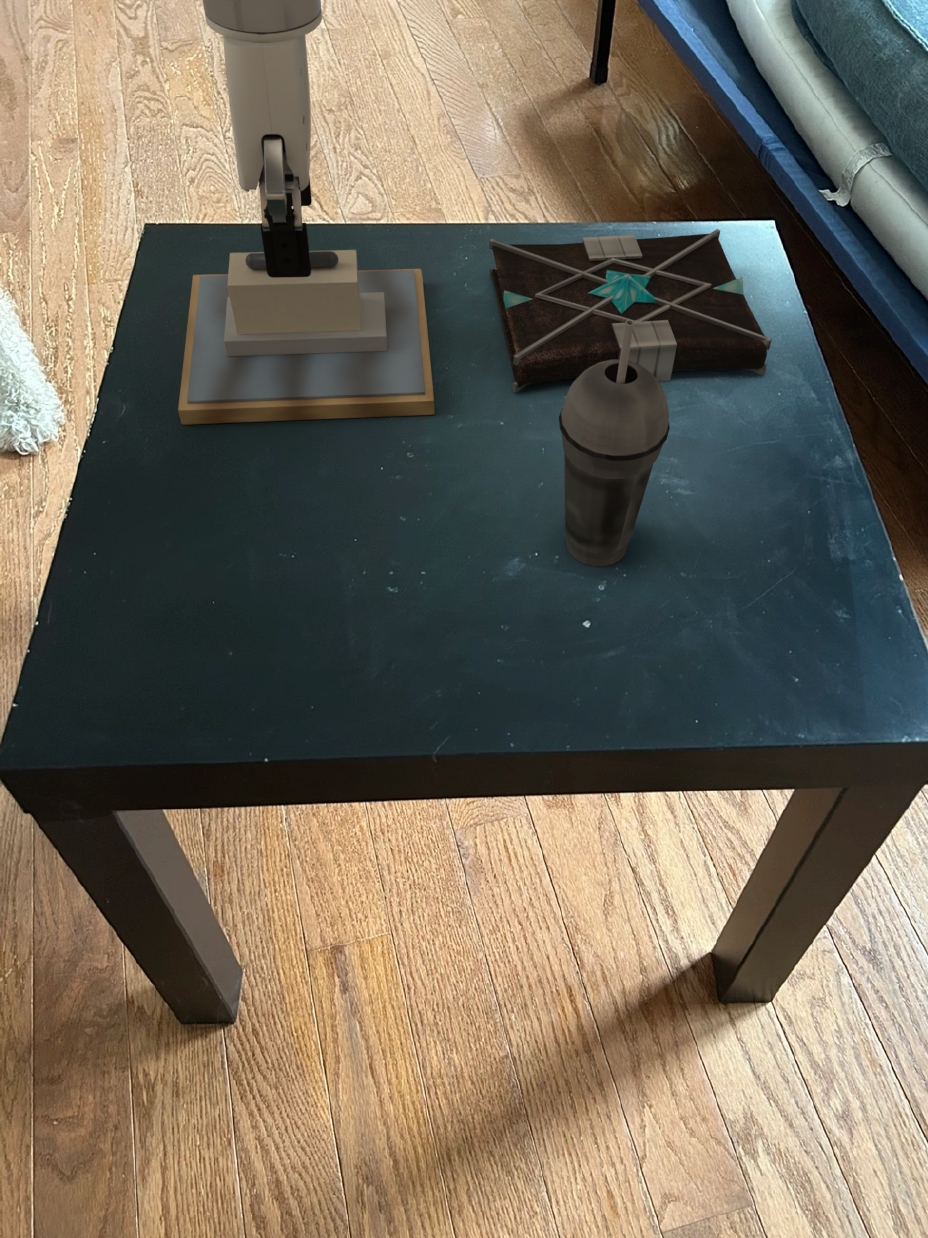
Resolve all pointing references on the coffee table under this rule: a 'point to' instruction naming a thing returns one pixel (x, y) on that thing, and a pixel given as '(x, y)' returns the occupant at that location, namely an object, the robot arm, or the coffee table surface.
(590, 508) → the beverage cup
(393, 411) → the board
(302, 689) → the coffee table surface
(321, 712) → the coffee table surface
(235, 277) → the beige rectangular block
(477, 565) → the coffee table surface
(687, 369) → the book
